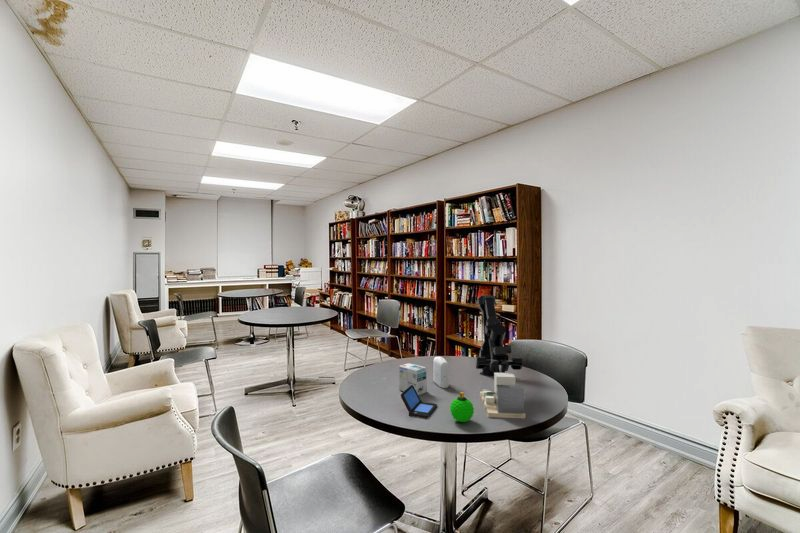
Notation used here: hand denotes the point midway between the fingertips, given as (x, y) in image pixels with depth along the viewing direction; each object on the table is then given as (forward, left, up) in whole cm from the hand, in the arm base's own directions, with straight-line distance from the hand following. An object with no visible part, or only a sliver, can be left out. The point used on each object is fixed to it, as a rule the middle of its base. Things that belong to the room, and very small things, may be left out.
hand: (501, 382), depth 143 cm
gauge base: (+6, +2, -7) cm, 9 cm away
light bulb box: (+12, -35, -7) cm, 38 cm away
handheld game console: (+27, -22, -8) cm, 36 cm away
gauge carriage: (+7, +2, -5) cm, 9 cm away
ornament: (+27, -5, -7) cm, 28 cm away
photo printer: (-2, -29, -7) cm, 30 cm away
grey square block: (+13, +7, -6) cm, 16 cm away
